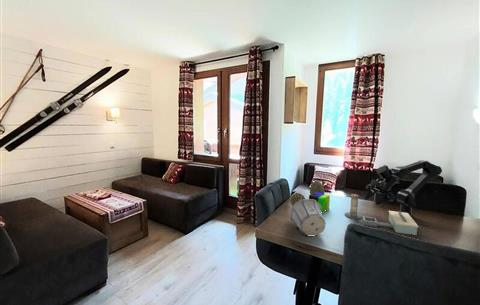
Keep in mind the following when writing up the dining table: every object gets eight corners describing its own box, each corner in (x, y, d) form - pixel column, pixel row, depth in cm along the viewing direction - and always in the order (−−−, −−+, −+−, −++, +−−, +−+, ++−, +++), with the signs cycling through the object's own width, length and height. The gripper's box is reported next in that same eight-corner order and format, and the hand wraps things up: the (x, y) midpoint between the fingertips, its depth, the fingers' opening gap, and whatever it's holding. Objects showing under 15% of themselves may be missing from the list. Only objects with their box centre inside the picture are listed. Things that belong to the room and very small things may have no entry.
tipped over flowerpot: (333, 212, 111) (310, 183, 139) (298, 215, 109) (282, 185, 137) (329, 240, 117) (308, 206, 145) (296, 243, 116) (281, 208, 144)
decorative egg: (307, 197, 178) (308, 179, 176) (321, 197, 177) (322, 179, 175) (311, 202, 167) (312, 182, 165) (326, 202, 167) (326, 182, 165)
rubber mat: (344, 212, 147) (344, 211, 147) (361, 214, 143) (361, 213, 143) (344, 217, 138) (345, 217, 138) (363, 220, 134) (363, 219, 134)
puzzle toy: (315, 205, 160) (315, 192, 159) (329, 209, 153) (329, 195, 151) (308, 209, 153) (309, 195, 152) (322, 213, 146) (323, 198, 145)
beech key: (350, 213, 144) (351, 193, 142) (358, 215, 141) (359, 195, 139) (348, 215, 141) (349, 195, 139) (356, 217, 137) (357, 197, 136)
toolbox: (361, 215, 142) (361, 205, 141) (407, 221, 132) (407, 211, 132) (364, 227, 125) (365, 217, 124) (417, 235, 115) (418, 224, 115)
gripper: (369, 172, 146) (352, 189, 146) (392, 178, 128) (373, 198, 128) (379, 183, 148) (363, 200, 148) (403, 191, 130) (385, 210, 130)
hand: (370, 201), depth 138 cm, fingers open, 9 cm apart
